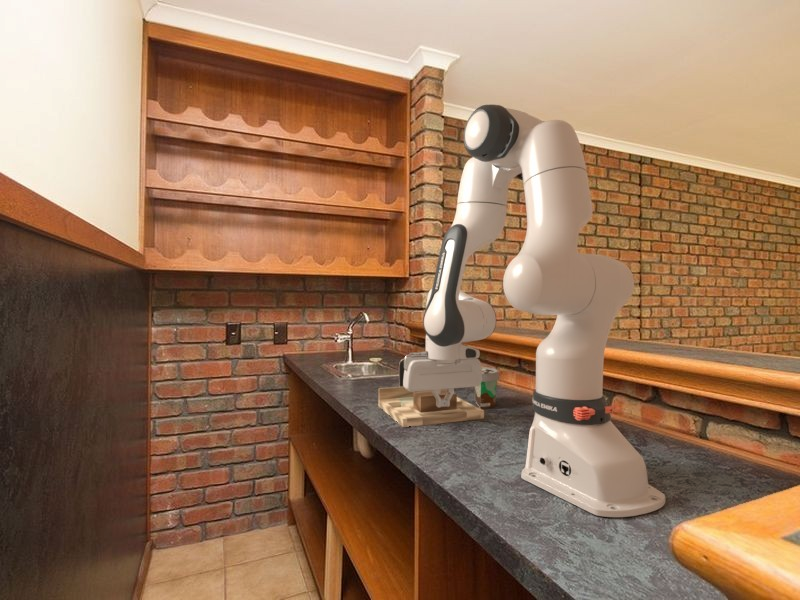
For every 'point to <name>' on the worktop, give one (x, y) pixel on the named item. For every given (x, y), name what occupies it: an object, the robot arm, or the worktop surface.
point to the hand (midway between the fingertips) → (442, 406)
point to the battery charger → (401, 372)
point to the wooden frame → (402, 411)
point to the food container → (487, 388)
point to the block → (431, 401)
